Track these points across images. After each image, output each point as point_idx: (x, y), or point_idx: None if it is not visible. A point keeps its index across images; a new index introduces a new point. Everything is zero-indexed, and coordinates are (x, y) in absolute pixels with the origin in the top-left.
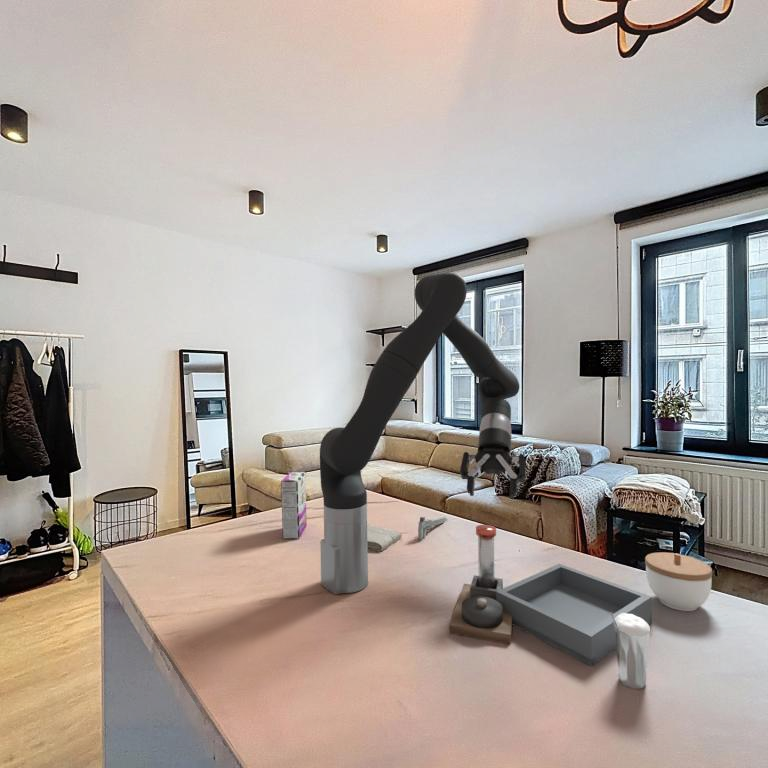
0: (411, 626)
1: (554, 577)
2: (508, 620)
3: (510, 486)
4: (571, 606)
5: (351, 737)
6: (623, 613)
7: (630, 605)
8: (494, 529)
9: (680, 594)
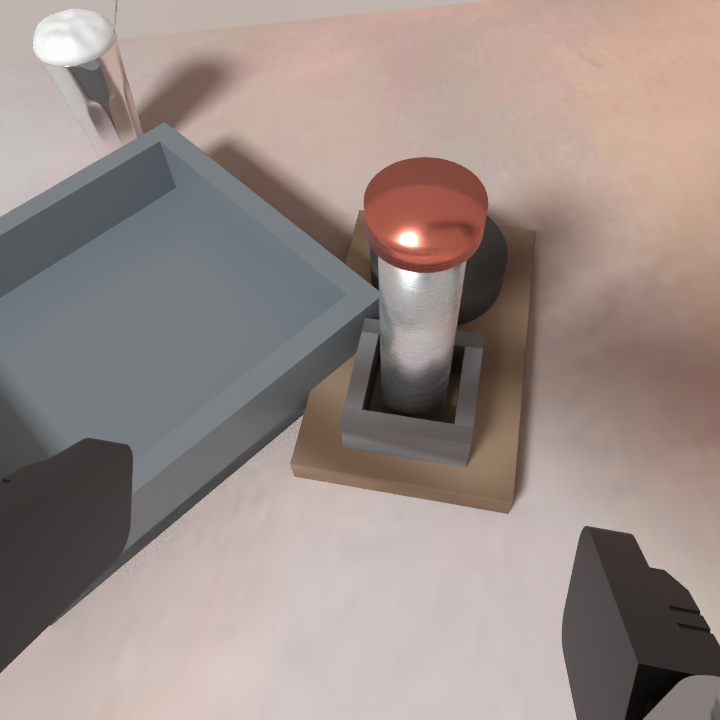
0: (653, 266)
1: None
2: (353, 267)
3: (65, 472)
4: (106, 390)
5: (649, 9)
6: (72, 35)
7: None
8: (375, 183)
9: None
